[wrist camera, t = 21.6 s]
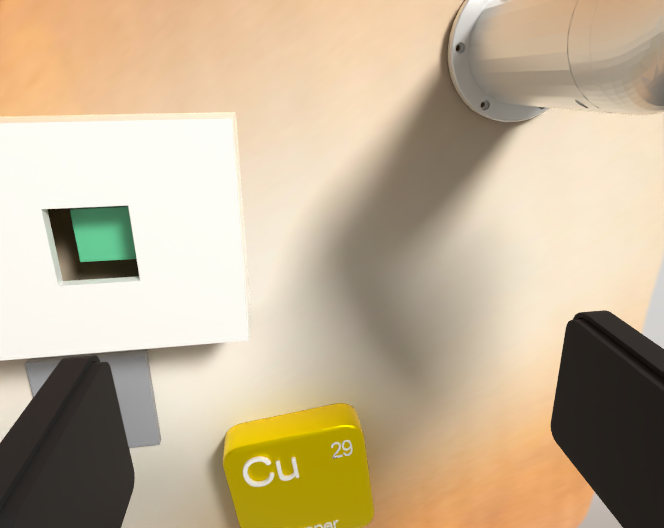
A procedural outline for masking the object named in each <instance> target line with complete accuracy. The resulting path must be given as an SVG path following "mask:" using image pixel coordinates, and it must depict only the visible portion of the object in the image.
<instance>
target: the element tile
mask: <svg viewBox="0 0 664 528" xmlns="http://www.w3.org/2000/svg"><path fill="white" fill-rule="evenodd" d="M223 467H224V471H225V475H226V478H227V482H228V485H229V489H230V493H231V496H232V500H233V503H234V507H235V511H236V514H237V518H238V521H239V525H240V528H362V527H364V526H366V525H368V524H369V523H370V522H371V521H372V519H373V516H374V505H373V498H372V491H371V484H370V476H369V469H368V462H367V455H366V448H365V440H364V434H363V431H362V428H361V425H360V421H359V418H358V415H357V413H356V411H355V409H354V408H353V407H352V406H350V405H348V404H343V403H338V404H332V405H327V406H322V407H318V408H313V409H308V410H303V411H298V412H294V413H289V414H284V415H279V416H274V417H269V418H265V419H260V420H255V421H250V422H245V423H241V424H238V425H235V426H234V427H232V428H230V429H229V430H228V432H227V433H226V436H225V443H224V455H223Z"/></svg>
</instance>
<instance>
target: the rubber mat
mask: <svg viewBox="0 0 664 528" xmlns="http://www.w3.org/2000/svg"><path fill="white" fill-rule="evenodd" d="M90 355H96V356H98V358H99V359H100V362H108V363H109V365H110V367H111V371H112V375H113V380H114V384H115V389H116V393H117V398H118V402H119V406H120V411H121V415H122V420H123V424H124V429H125V433H126V437H127V442H128V446H129V448H131V447H141V446H150V445H159V444H160V442H161V436H160V429H159V423H158V417H157V411H156V405H155V398H154V392H153V386H152V380H151V374H150V368H149V361H148V355H147V350H138V351H125V352H113V353H101V354H88V355H76V356H64V357H51V358H39V359H28V360H27V362H26V363H25V366H26V370H27V374H28V378H29V381H30V385H31V389H32V393H33V397H34V396H35V395H36V393H37V392H38V391H39V389H40V388H41V387H42V385H43V384H44V383H45V381H46V380H47V378H48V377H49V376H50V374H51V373H52V372H53V370H54V369H55V367H56V366H57V365H58V363H59V362H60V361H61V360H62V359H63V358H67V357H78V356H90Z"/></svg>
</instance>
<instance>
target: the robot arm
mask: <svg viewBox="0 0 664 528" xmlns="http://www.w3.org/2000/svg"><path fill="white" fill-rule="evenodd" d="M456 46H458V47H459V50H458V51H456ZM448 67H449V71H450V75H451V79H452V82H453V84H454V86H455V89H456V91H457V93H458V94H459V96H460V97H461V98H462V100H463V101H464V103H465V104H466V105H468V106H469V107H470V108H471V109H472V110H473V111H474V112H476V113H478V114H480V115H481V116H483V117H485V118H489V119H492V120H495V121H502V122H519V121H523V120H527V119H531V118H533V117H535V116H537V115H540V114H542V113H543V112H545V111H546V110H548V109H549V108H557V109H569V110H580V111H591V112H602V113H614V114H625V115H651V114H657V113H662V112H664V0H465V2H464V3H463V5H462V6H461V8H460V9H459V11H458V14H457V16H456V18H455V20H454V22H453V26H452V29H451V33H450V36H449V44H448ZM482 102H483V107H482V108H481V103H482ZM551 431H552V435H553V437H554V440H555V441H556V443H557V444H558V445H559V447H560V448H561V449H562V450H563V452H564V453H565V454H566V456H567V457H568V458H569V459H570V461H571V462H572V463H573V464H574V466H575V467H576V468H577V470H578V471H579V472H580V473H581V475H582V476H583V477H584V478H585V480H586V481H587V482H588V484H589V485H590V486H591V487H592V489H593V490H594V491H595V492H596V494H597V495H598V496H599V498H600V499H601V500H602V501H603V502H604V504H605V505H606V506H607V508H608V509H609V510H610V512H611V513H612V514H613V515H614V516H615V518H616V519H617V520H618V522H619V523H620V524H621V526H622V527H623V528H664V349H663V348H661V347H660V346H658V345H657V344H655V343H654V342H653V341H651V340H650V339H648V338H647V337H645V336H644V335H642V334H641V333H640V332H638V331H637V330H635V329H634V328H632V327H631V326H629V325H628V324H627V323H625V322H624V321H622V320H621V319H619V318H618V317H616V316H615V315H614V314H612V313H611V312H609V311H593V312H581V313H578V314H576V315H575V317H574V318H573V320H571V321H569V322H568V324H567V326H566V331H565V338H564V344H563V350H562V356H561V363H560V369H559V375H558V382H557V388H556V394H555V400H554V407H553V413H552V419H551ZM133 488H134V468H133V464H132V459H131V455H130V451H129V446H128V442H127V437H126V433H125V429H124V424H123V420H122V415H121V411H120V406H119V402H118V398H117V393H116V389H115V384H114V380H113V375H112V371H111V367H110V365H109V363H108V362H100V359H99V358H98V356H96V355H90V356H78V357H67V358H63V359H62V360H61V361H60V362H59V363H58V365H57V366H56V367H55V369H54V370H53V372H52V373H51V374H50V376H49V377H48V378H47V380H46V381H45V383H44V384H43V385H42V387H41V388H40V389H39V391H38V392H37V393H36V395H35V396H34V398H33V399H32V400H31V402H30V403H29V404H28V406H27V407H26V409H25V410H24V411H23V413H22V414H21V415H20V417H19V418H18V420H17V421H16V422H15V424H14V425H13V426H12V428H11V429H10V431H9V432H8V433H7V435H6V436H5V437H4V439H3V440H2V442H1V443H0V528H121V525H122V522H123V519H124V516H125V513H126V510H127V507H128V504H129V501H130V498H131V495H132V492H133Z"/></svg>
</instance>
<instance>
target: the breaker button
mask: <svg viewBox="0 0 664 528" xmlns="http://www.w3.org/2000/svg"><path fill="white" fill-rule="evenodd" d="M70 213H71V218H72V223H73V228H74V233H75V238H76V243H77V248H78V253H79V258H80V262H90V261H107V260H125V259H137V258H136V252H135V245H134V239H133V233H132V226H131V220H130V214H129V207H128V206H106V207H82V208H71V209H70Z"/></svg>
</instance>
